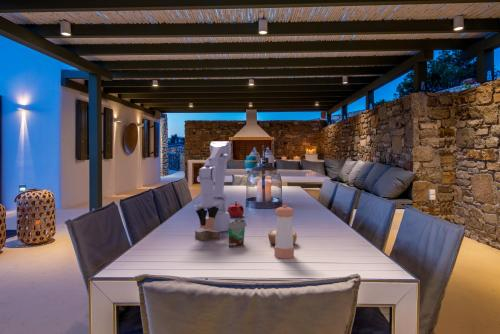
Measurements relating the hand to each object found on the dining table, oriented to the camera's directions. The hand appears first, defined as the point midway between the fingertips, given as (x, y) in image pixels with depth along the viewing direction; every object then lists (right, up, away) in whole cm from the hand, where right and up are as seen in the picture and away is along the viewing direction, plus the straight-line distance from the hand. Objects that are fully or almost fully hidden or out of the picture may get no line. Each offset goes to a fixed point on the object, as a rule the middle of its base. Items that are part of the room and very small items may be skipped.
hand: (207, 224), depth 172 cm
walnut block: (0, -7, 0) cm, 7 cm away
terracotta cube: (0, -2, 0) cm, 2 cm away
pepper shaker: (+32, -8, -28) cm, 43 cm away
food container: (+14, -7, -11) cm, 19 cm away
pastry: (+33, -7, -9) cm, 35 cm away
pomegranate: (+11, -4, +57) cm, 58 cm away
